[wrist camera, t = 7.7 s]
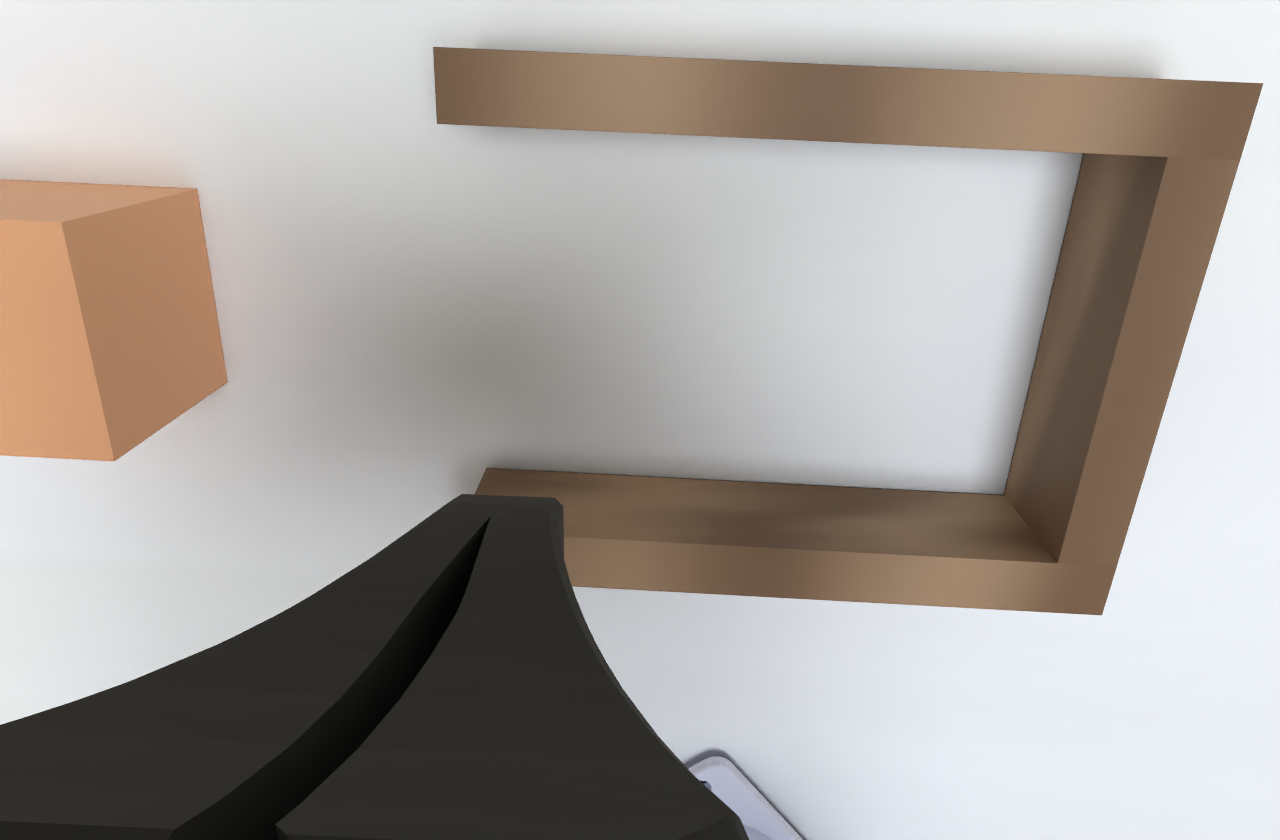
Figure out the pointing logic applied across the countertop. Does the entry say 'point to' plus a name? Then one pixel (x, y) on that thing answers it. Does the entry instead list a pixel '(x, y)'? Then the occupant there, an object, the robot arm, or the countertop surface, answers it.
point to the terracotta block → (101, 316)
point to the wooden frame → (1067, 355)
